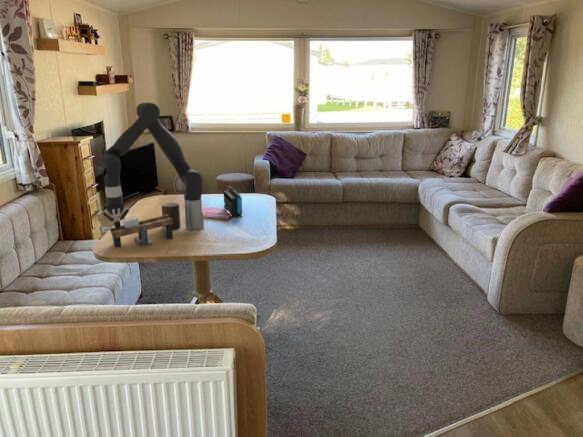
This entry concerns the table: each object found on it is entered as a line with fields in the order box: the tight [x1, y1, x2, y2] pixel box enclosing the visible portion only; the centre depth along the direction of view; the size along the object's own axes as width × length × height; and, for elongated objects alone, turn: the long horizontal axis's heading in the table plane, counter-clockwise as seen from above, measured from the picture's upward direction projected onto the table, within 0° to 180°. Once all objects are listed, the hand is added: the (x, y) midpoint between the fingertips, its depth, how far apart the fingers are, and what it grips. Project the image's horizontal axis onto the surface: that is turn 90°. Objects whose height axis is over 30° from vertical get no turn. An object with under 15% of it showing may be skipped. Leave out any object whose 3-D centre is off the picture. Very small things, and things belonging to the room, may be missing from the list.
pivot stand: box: [111, 224, 174, 249], centre depth 242 cm, size 29×14×10 cm, turn 118°
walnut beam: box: [109, 214, 173, 239], centre depth 241 cm, size 30×9×3 cm, turn 118°
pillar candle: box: [161, 202, 181, 231], centre depth 263 cm, size 10×10×15 cm
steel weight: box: [121, 215, 140, 229], centre depth 238 cm, size 7×5×5 cm
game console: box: [223, 185, 243, 218], centre depth 293 cm, size 28×6×15 cm, turn 21°
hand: (117, 228), depth 235 cm, fingers closed
